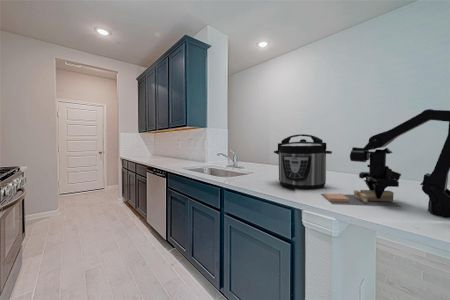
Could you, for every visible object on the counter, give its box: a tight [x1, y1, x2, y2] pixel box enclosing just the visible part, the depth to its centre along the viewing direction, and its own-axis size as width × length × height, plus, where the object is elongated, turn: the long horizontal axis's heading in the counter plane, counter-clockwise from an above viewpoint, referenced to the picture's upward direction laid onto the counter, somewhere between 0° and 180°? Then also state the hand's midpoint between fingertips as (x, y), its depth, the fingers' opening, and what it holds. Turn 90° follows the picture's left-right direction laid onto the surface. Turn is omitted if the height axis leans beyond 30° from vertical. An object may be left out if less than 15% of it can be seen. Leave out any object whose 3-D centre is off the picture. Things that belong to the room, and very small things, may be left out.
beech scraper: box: [353, 189, 395, 203], centre depth 89 cm, size 9×13×4 cm
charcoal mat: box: [320, 193, 403, 208], centre depth 91 cm, size 16×27×1 cm, turn 81°
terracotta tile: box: [323, 192, 349, 203], centre depth 91 cm, size 8×2×8 cm
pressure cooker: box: [273, 134, 333, 190], centre depth 121 cm, size 30×28×32 cm
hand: (376, 197), depth 89 cm, fingers closed on beech scraper, 3 cm apart
